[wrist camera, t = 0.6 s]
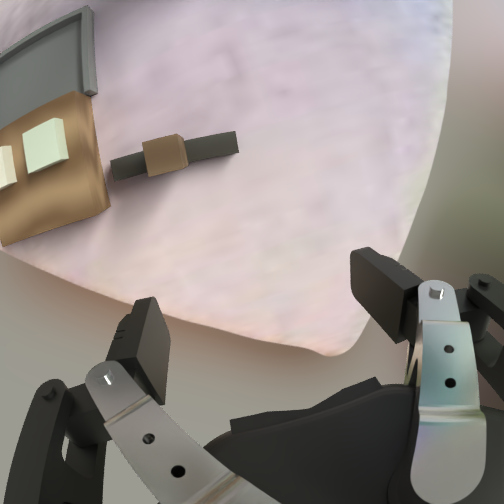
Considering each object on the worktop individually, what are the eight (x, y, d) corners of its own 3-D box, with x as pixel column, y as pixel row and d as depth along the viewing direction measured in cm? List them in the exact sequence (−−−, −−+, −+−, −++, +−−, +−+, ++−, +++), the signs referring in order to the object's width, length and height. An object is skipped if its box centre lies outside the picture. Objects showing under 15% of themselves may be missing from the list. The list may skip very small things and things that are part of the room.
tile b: (31, 134, 21) (22, 134, 19) (62, 119, 22) (54, 117, 20) (37, 171, 23) (28, 173, 21) (68, 158, 23) (60, 159, 21)
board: (2, 141, 24) (-19, 142, 19) (90, 97, 25) (74, 90, 21) (21, 235, 29) (2, 247, 24) (110, 206, 30) (96, 215, 26)
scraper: (116, 157, 29) (84, 160, 20) (232, 130, 30) (243, 121, 21) (121, 181, 30) (91, 193, 21) (236, 155, 31) (249, 155, 22)
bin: (-6, 67, 19) (-16, 65, 17) (93, 12, 21) (87, 5, 18) (-5, 144, 24) (-15, 145, 21) (97, 93, 25) (90, 89, 23)
